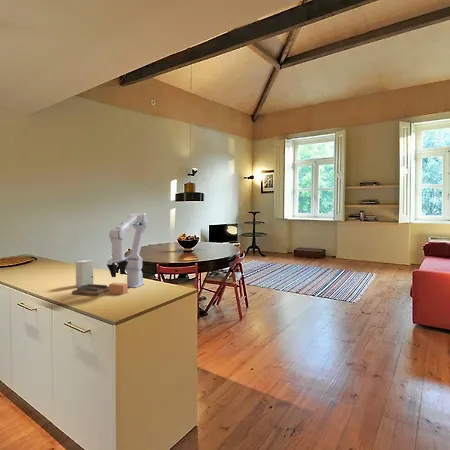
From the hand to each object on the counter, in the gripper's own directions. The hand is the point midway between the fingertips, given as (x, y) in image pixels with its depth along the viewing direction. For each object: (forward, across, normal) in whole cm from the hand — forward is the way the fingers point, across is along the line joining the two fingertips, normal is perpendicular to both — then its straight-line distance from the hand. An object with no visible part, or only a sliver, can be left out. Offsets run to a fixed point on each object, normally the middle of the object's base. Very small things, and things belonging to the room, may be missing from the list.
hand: (118, 275), depth 181 cm
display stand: (+10, -2, +15) cm, 18 cm away
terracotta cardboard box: (+10, 0, 0) cm, 10 cm away
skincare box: (+10, +9, +30) cm, 33 cm away
